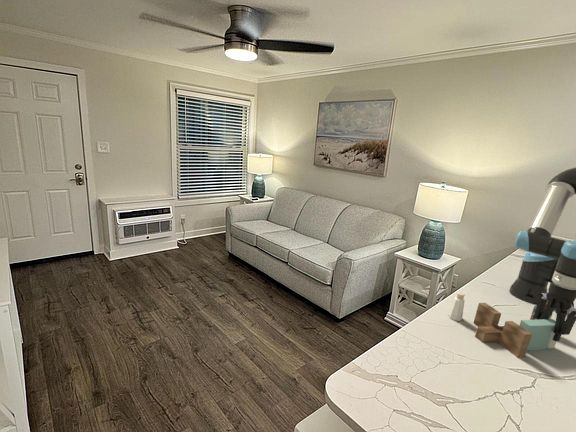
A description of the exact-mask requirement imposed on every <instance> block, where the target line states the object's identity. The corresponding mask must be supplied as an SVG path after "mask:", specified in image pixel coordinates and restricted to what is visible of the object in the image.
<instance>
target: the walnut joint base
mask: <svg viewBox="0 0 576 432" xmlns="http://www.w3.org/2000/svg"><path fill="white" fill-rule="evenodd" d="M501 315H502V313H501V312H500V311H498V310H497V309H496V308H494V307H492V306H491V305H490V304H488V303H486V302H478V305H477V309H476V313H475V316H474V320H473V324H475V326H476V327H477V328H476V332H475V335H474V337H475V338H476V339H478V340H479V341H480V342H481V343H496V342H497V343H498V344H500V345H501V346H502V347H503V348H504V349H506V350H508V352H509V353H511V354H512V355H514V356H515V357H516V358H525V356H526V354H527V352H528V350H527V348H528V345H529V342H530V339H531V336H532V334H531V333H530V332H528V331H527V330H525V329H524V328H522V327H521V326H519V325H520V324H518V323H516V322H514V321H513V320H506V321H505V322H504V325H503V326H501V325H499V322H500V319H501Z"/></svg>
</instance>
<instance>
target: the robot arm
mask: <svg viewBox="0 0 576 432" xmlns="http://www.w3.org/2000/svg"><path fill="white" fill-rule="evenodd" d="M545 193H546V194H545V196H544V197H543V199H542V200H541V203H540V205H539V207H538V209H537V212H535V214H534V218H533V219H532V221H531V223H530V225H529V227H528V229H527V230H520V231H519V232H518V233H517V235H516V237H515V242H514V246H515V248H516V249H518V250H521V251H524V252H526V253H525V254H524V256H523V258H522V263H521V266H520V270H519V273H518V276H517V278H516V279H515V281H514V282H513V283H512V284H511V286H510V287H509V290H508V291H509V293H510V294H511V295H512V296H514V297H515V298H517V299H519V300H522V301H525V302H527V303H531V304H536V306H537V307H536V311H535V315H534V318H535V319H537V320H540V319H549V318H550V316H551V314H552V313H554V311H555V314H556V315H555V321H556V323H555V331H552V332H551V335H550V337H549V340H548V343H547V346H546V347H548V348H554V349H555V347H556V344H557V342H560V341H561V338H562V336H566V335H567V336H568V335H570V333H571V331H572V329H573V327H574V326H575V323H576V308H575V304H574V303H575V301H576V234H575V235H574V238H573V240H565V239H560V238H557V237H556V238H555V237H552V235H553V233H554V231H555V229H556V226H557V224H558V222H559V220H560V218H561V216H562V213H563V211H564V209H565V207H566V205H567V203H568V201H569V199H571V198H572V197H573V196H574V195H576V167H573V168H569V169H566V170H564V171H561V172H559V173H558V174H557V175H555V176H554V177H552V178H551V179H550V181H549V182H548V183H547V185H546V187H545ZM548 285H549V287H548ZM546 303H547V305H546ZM545 306H546V308H545ZM552 315H553V314H552ZM556 341H557V342H556Z"/></svg>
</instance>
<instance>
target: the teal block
mask: <svg viewBox="0 0 576 432" xmlns="http://www.w3.org/2000/svg"><path fill="white" fill-rule="evenodd" d="M555 323H556V319H554V318H551V319H540V320H530V319H520V323H519V324H518V325H519V326H521V327H522V328H524V329H525V330H527V331H528V332H530V333H531V334H532V336H531V339H530V342H529V345H528V348H527V351H534V350H535V351H537V350H553V349H555V347H554V348H548V347H546V346H547V343H548V340H549V337H550V335H551V332H552V331H555ZM557 342H558V341H556V343H557Z"/></svg>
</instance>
